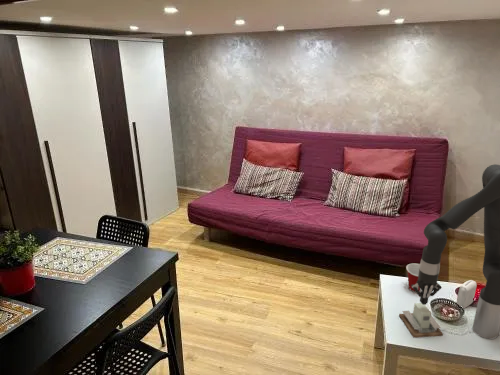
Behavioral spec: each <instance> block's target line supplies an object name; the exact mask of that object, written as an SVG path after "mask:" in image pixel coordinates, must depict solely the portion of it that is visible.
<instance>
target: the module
mask: <svg viewBox="0 0 500 375" xmlns="http://www.w3.org/2000/svg"><path fill="white" fill-rule="evenodd" d="M412 313H413V317H414V319H415V320H416V321H417V323H418V324H419V326H420V327H421V328H429V324H430V318H431V316H432V312H431V311H430V310H429V308H428V307H427V306H426V304H425V305H423V304H422V303H421V302H418V303H417V302H415V303H414V306H413V311H412Z"/></svg>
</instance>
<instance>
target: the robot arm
mask: <svg viewBox="0 0 500 375" xmlns="http://www.w3.org/2000/svg"><path fill="white" fill-rule="evenodd" d="M481 183H482V189H481V190H480V191H478V192H477V193H475V194H474V195H472V196H469V197H468V198H465V199H463V200H461V201H459V202H457V203H456V204H454V206H452V207H451V208H450V209H449V210H448V211H446V212H445V213H444V214H442V216H440V217H438V218H435V219H434V220H432V221H430V222H429V223H428V224H427V225H425V227H424V229H423V234H424V237H425V238H426V240H427V245H425V246H424V247H423V249H422V253H421V254H422V256H421V259H420V263H419V264H420V268H419V274H418V281H417V283H416V284H415V285H413V284H412V285H411V287H412V288H413V289H414V290H415V291H414V292H415V293H416V294H417V296H418V297H419V303H422V304H423V305H425V306H426V305H427V304H428V302H429V298H430V297H434V296H435V295H436V294H437V293H438V292H439V291H440V290H441V289H442V286H441V285H440V284H439V282H438V281H439V280H438V278H439V274H440V268H441V259H442V253H443V252H444V250H445V248H446V247H447V242H448V235H447V233H446V232H445V231H447V230H450V229H451V230H457V229H458V228H459V227H460V226H462V225H463V224H464V223H465V222H467V221H468V220H469V219H470V218H471V217H473V215H474V216H475V214H477V213H478V212H480V211H481V210H482V209H483V241H484V242H483V243H484V244H483V245H484V256H483V263H482V275H483V276H484V278H485V281H486V284H485V286H484V287H482V288H481V289H480V290H479V291H480V293H479V297H478V300H477V305H476V310H475V314H474V318H473V324H472V331H473V332H474V333H475V334H476V335H478V336H480V337H482V338H484V339H489V340H491V339H493V340H494V339H496V338H497V337H498V336H500V164H495V163H494V164H491V165H488V166H487V167H486V168H485V169H484V170H483V173H482V175H481ZM418 286H419V287H420V291H418Z"/></svg>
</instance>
